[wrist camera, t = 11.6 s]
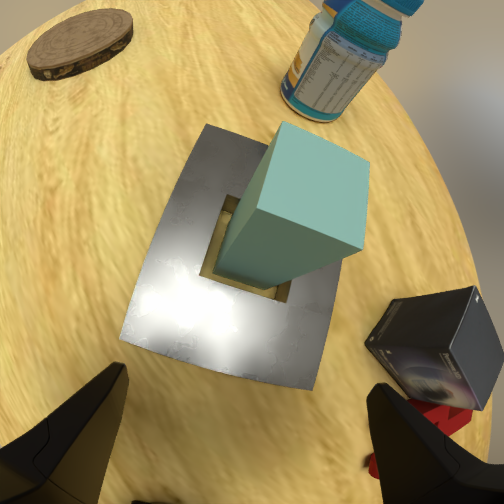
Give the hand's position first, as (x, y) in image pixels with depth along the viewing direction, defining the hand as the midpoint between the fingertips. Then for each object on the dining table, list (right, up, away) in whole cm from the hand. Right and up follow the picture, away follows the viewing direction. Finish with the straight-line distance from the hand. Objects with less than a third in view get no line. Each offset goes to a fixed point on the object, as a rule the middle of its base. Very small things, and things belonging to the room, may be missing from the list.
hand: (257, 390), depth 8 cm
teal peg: (-1, +4, +14) cm, 15 cm away
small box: (+16, -6, +16) cm, 23 cm away
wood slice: (-24, +33, +16) cm, 44 cm away
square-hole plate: (-1, +4, +14) cm, 15 cm away
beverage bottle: (+7, +23, +21) cm, 32 cm away
